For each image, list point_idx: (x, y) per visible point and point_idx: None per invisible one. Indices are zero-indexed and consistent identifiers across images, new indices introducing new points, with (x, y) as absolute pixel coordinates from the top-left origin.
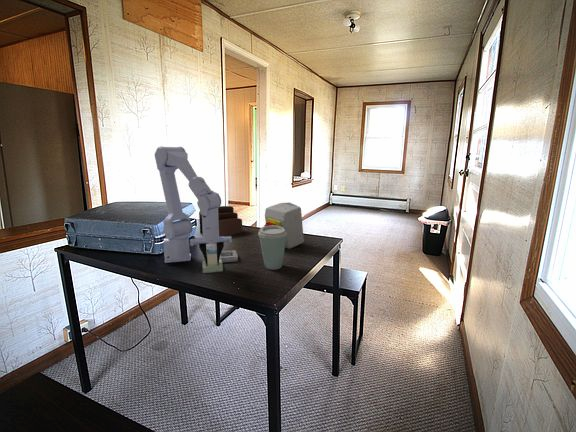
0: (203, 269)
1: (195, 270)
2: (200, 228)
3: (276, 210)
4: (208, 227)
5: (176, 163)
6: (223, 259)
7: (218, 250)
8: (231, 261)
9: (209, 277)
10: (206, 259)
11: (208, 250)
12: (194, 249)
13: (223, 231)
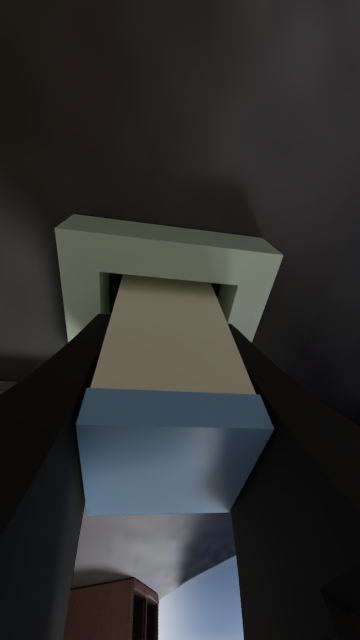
0: (268, 248)
1: (292, 314)
2: (156, 631)
3: None
4: None
5: None
6: None
7: (23, 435)
8: (4, 383)
9: (238, 76)
10: (240, 347)
11: (220, 480)
12: (205, 527)
13: (66, 618)
